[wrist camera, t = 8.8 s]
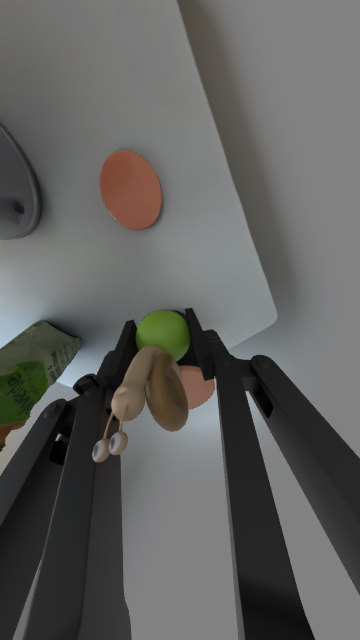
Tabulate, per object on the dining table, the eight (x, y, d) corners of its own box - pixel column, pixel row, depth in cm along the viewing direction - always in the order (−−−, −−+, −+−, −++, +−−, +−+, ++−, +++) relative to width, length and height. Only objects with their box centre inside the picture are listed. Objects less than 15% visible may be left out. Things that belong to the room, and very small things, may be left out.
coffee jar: (191, 306, 33) (219, 365, 17) (191, 339, 38) (212, 406, 23) (147, 310, 32) (135, 377, 16) (153, 344, 37) (150, 417, 22)
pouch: (54, 310, 29) (-235, 509, 8) (97, 345, 35) (3, 508, 14) (18, 333, 30) (-306, 550, 9) (65, 362, 36) (-64, 533, 15)
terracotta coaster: (89, 158, 19) (87, 155, 18) (153, 147, 19) (153, 144, 18) (116, 234, 23) (115, 234, 23) (167, 224, 24) (167, 224, 23)
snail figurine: (164, 284, 14) (181, 421, 3) (193, 326, 17) (246, 462, 7) (122, 311, 14) (35, 484, 4) (157, 346, 18) (155, 493, 7)
